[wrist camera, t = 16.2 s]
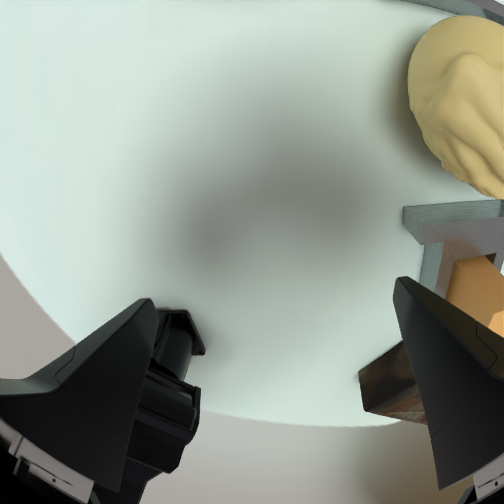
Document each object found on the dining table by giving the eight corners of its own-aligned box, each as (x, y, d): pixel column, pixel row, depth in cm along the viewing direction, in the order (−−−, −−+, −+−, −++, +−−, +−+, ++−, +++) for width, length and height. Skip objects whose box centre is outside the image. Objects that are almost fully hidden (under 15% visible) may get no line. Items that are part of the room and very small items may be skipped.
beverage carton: (420, 399, 34) (429, 431, 28) (353, 371, 30) (360, 416, 24) (458, 372, 30) (471, 404, 25) (403, 333, 26) (420, 380, 20)
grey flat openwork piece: (489, 287, 22) (503, 306, 19) (392, 309, 24) (403, 334, 21) (494, 16, 8) (516, 12, 5) (369, -19, 10) (384, -37, 7)
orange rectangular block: (465, 278, 22) (507, 338, 14) (436, 284, 22) (475, 351, 14) (473, 244, 20) (524, 302, 12) (443, 249, 20) (494, 313, 13)
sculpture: (361, 119, 16) (448, 142, 7) (415, 3, 10) (499, -36, 1) (463, 195, 18) (545, 261, 8) (508, 91, 12) (594, 113, 2)
